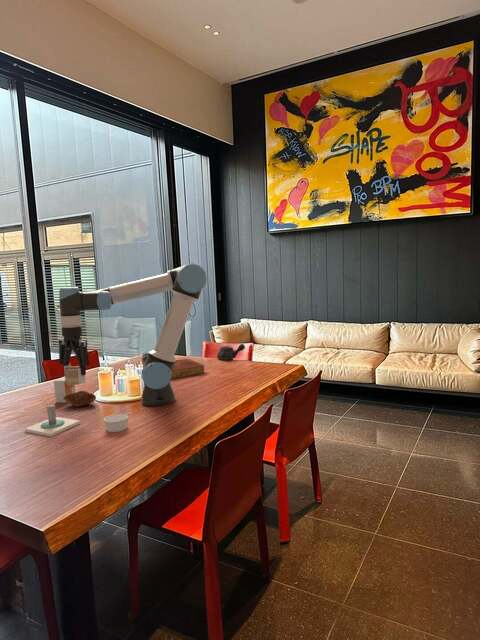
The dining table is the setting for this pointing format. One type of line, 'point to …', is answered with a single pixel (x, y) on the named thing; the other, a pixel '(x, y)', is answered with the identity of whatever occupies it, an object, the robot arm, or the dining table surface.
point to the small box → (62, 390)
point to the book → (186, 368)
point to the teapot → (229, 352)
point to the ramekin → (116, 422)
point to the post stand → (52, 424)
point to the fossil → (80, 398)
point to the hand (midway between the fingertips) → (75, 381)
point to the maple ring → (72, 375)
